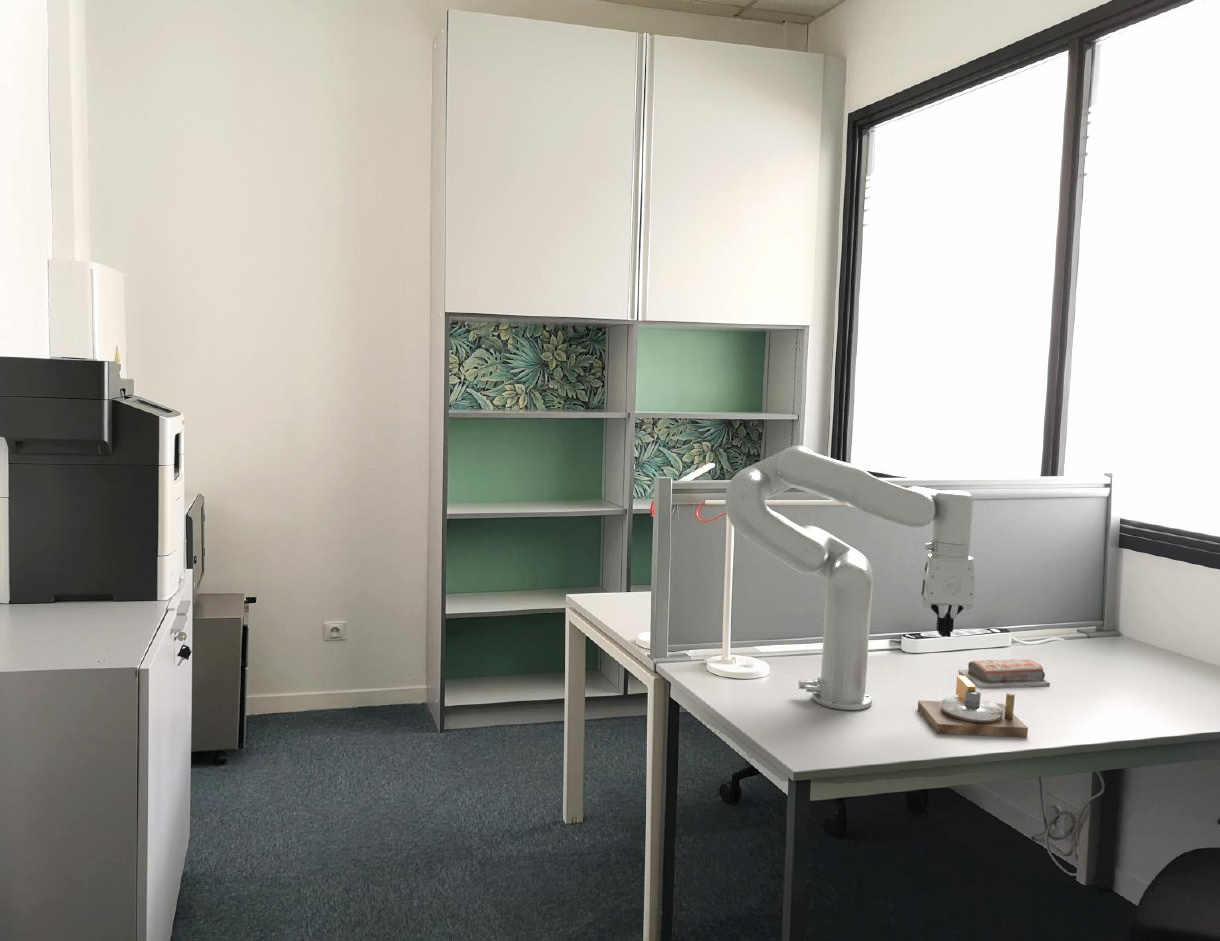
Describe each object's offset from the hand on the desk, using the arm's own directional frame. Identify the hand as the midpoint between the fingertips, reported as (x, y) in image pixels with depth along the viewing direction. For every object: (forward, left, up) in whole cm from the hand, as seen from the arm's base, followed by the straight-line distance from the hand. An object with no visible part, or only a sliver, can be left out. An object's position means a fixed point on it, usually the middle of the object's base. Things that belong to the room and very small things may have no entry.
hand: (944, 634), depth 219 cm
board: (+5, -6, -17) cm, 19 cm away
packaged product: (+22, +24, -18) cm, 37 cm away
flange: (+5, -5, -15) cm, 16 cm away
